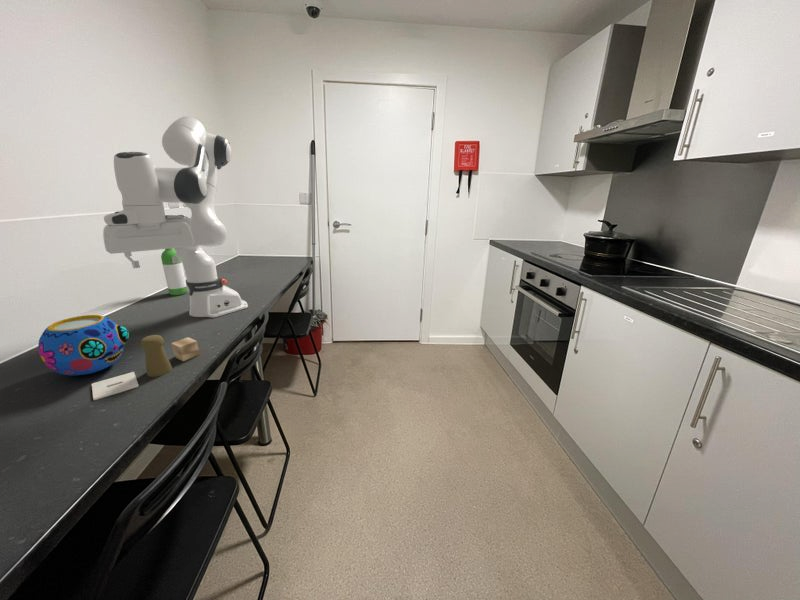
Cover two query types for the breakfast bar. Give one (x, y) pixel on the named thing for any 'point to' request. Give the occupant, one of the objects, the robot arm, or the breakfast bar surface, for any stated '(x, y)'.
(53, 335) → the ceramic pot
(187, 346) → the oak cube
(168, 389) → the breakfast bar surface
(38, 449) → the breakfast bar surface
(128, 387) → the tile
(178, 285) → the wine bottle
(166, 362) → the cork
